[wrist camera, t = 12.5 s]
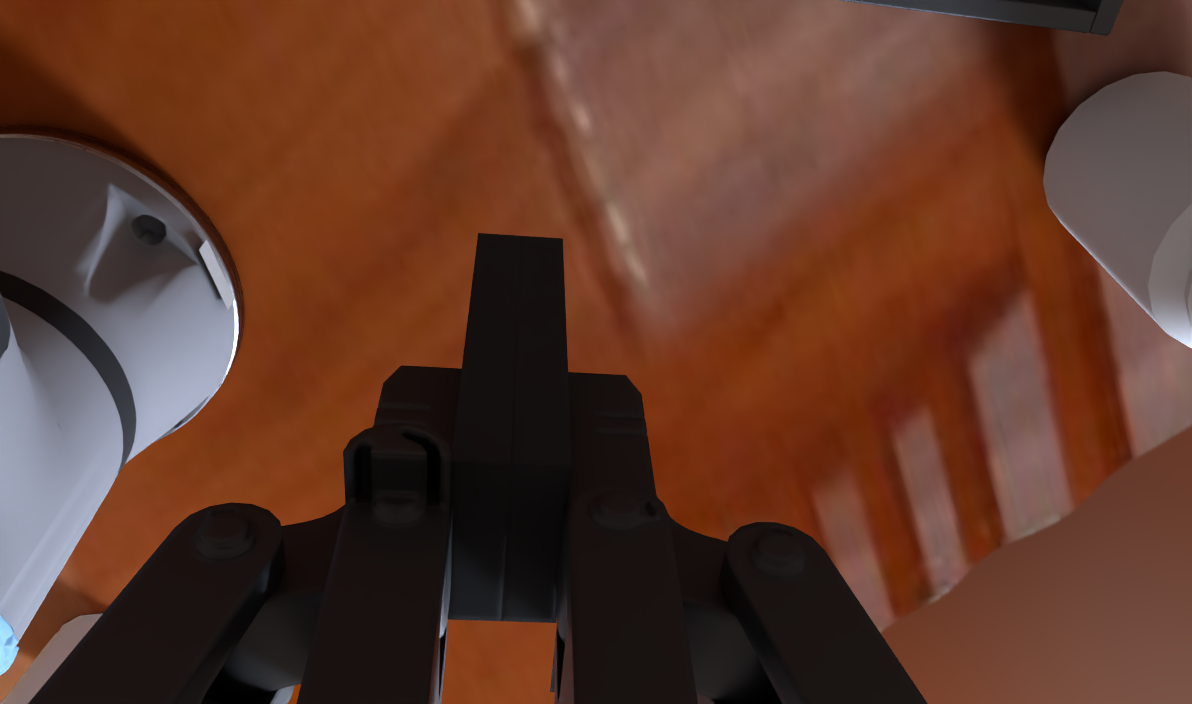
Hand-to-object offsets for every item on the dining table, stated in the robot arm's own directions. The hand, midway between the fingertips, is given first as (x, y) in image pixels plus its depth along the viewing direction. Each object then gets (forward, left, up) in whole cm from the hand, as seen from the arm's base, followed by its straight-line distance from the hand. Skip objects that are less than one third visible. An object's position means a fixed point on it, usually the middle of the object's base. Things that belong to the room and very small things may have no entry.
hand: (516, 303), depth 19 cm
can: (+25, -3, -25) cm, 36 cm away
